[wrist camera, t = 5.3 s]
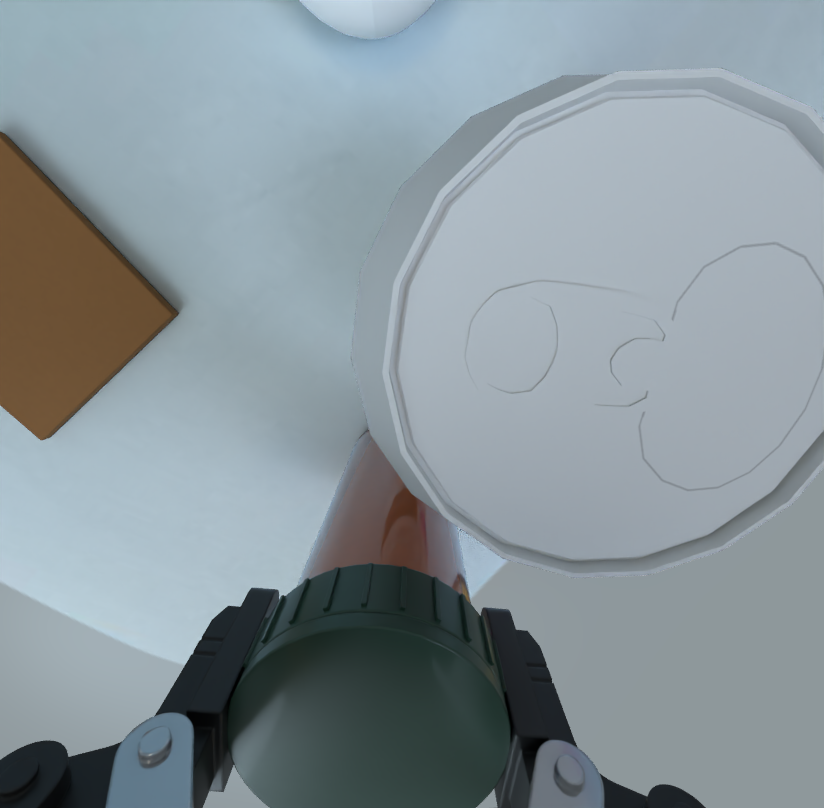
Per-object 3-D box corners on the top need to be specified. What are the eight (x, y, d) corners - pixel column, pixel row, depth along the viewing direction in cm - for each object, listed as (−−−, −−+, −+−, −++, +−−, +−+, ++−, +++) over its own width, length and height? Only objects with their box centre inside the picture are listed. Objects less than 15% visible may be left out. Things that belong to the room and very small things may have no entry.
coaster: (179, 313, 20) (172, 314, 19) (50, 437, 21) (41, 441, 21) (4, 132, 18) (-9, 127, 17) (-124, 285, 19) (-141, 285, 19)
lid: (393, 513, 9) (387, 567, 7) (544, 680, 10) (571, 763, 9) (207, 647, 10) (160, 725, 8) (363, 785, 11) (353, 878, 10)
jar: (464, 471, 22) (535, 727, 9) (392, 525, 23) (361, 829, 10) (403, 400, 21) (384, 573, 8) (330, 459, 22) (205, 701, 9)
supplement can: (569, 235, 19) (1070, 66, 5) (531, 402, 21) (794, 635, 7) (399, 208, 19) (379, -68, 4) (377, 381, 21) (316, 582, 6)
